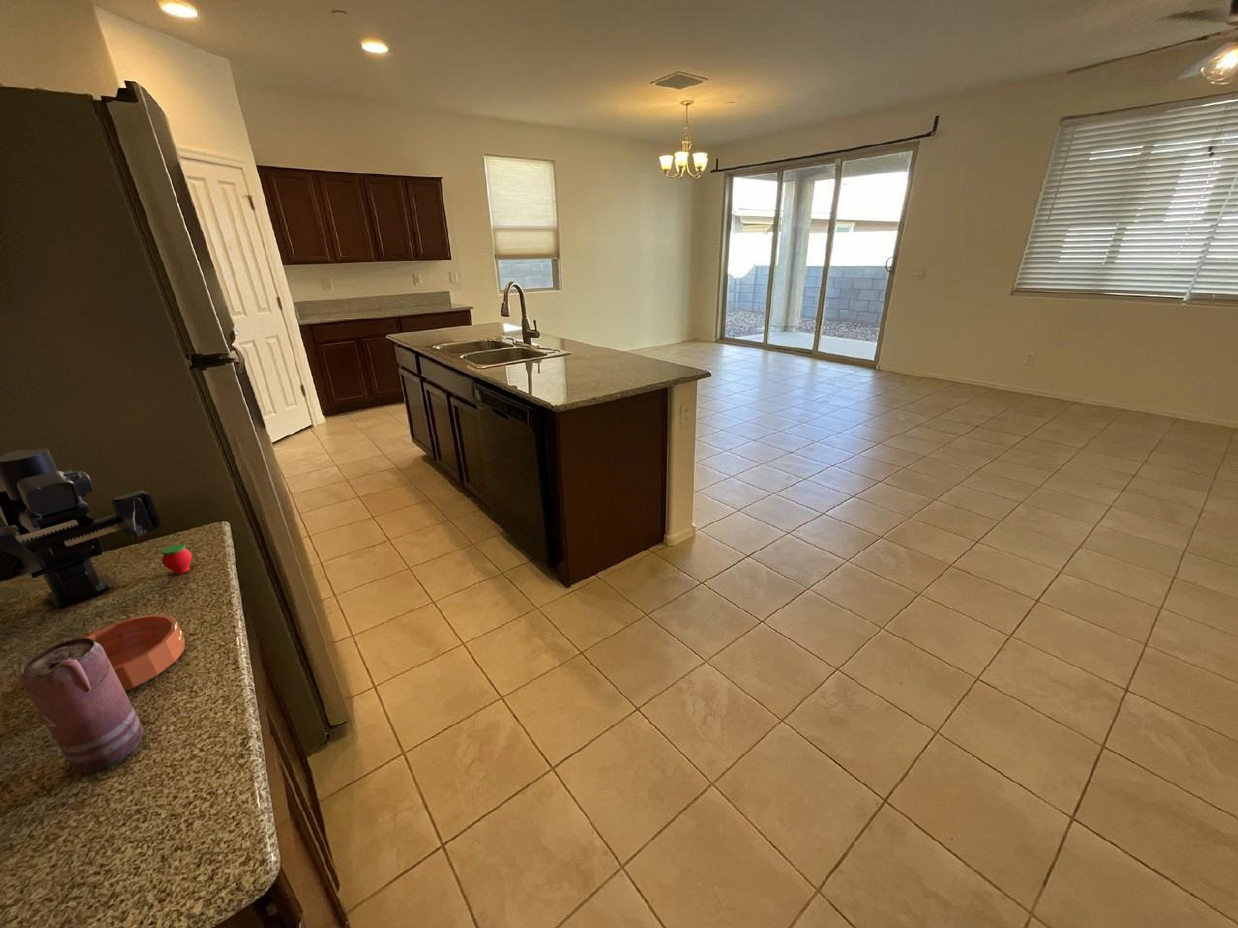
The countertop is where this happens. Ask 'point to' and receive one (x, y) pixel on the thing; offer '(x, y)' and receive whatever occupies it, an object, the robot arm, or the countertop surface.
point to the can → (82, 703)
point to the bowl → (141, 647)
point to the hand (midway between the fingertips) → (91, 549)
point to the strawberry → (176, 558)
